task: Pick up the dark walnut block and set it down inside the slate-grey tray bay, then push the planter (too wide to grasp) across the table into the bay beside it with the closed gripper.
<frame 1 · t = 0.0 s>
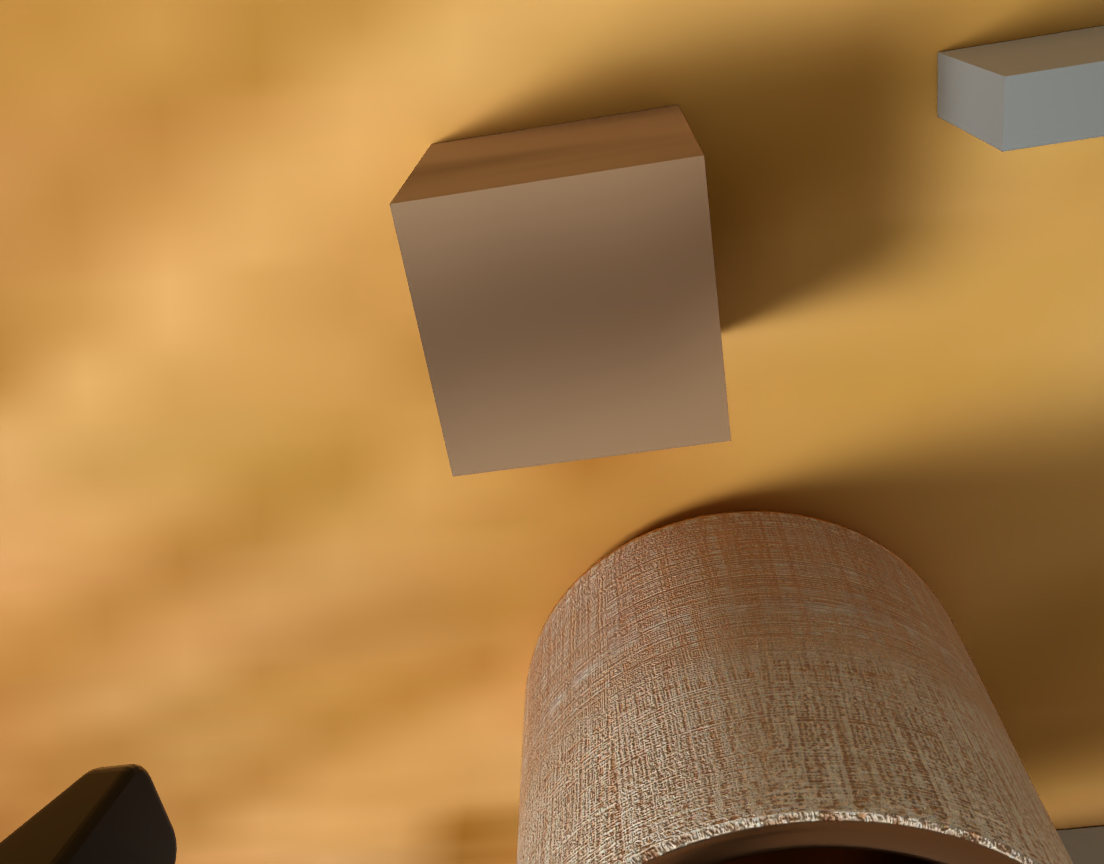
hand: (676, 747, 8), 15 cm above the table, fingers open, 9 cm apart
walnut block: (572, 244, 22), on the table
planter: (735, 672, 27), on the table
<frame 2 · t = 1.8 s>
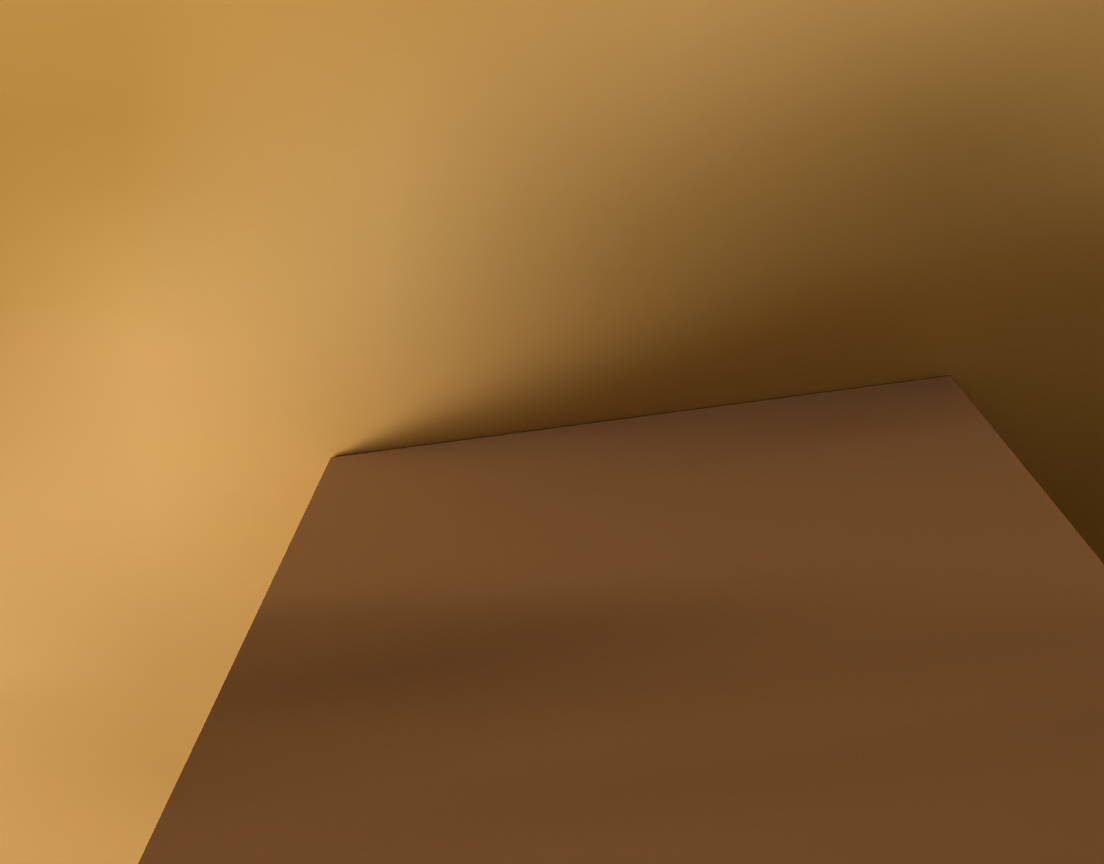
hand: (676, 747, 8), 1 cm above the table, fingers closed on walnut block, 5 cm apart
walnut block: (666, 663, 9), on the table, touching gripper
when the fingers open (2 cm above the table, at t = 5.5 s): walnut block drops 2 cm, on the table.
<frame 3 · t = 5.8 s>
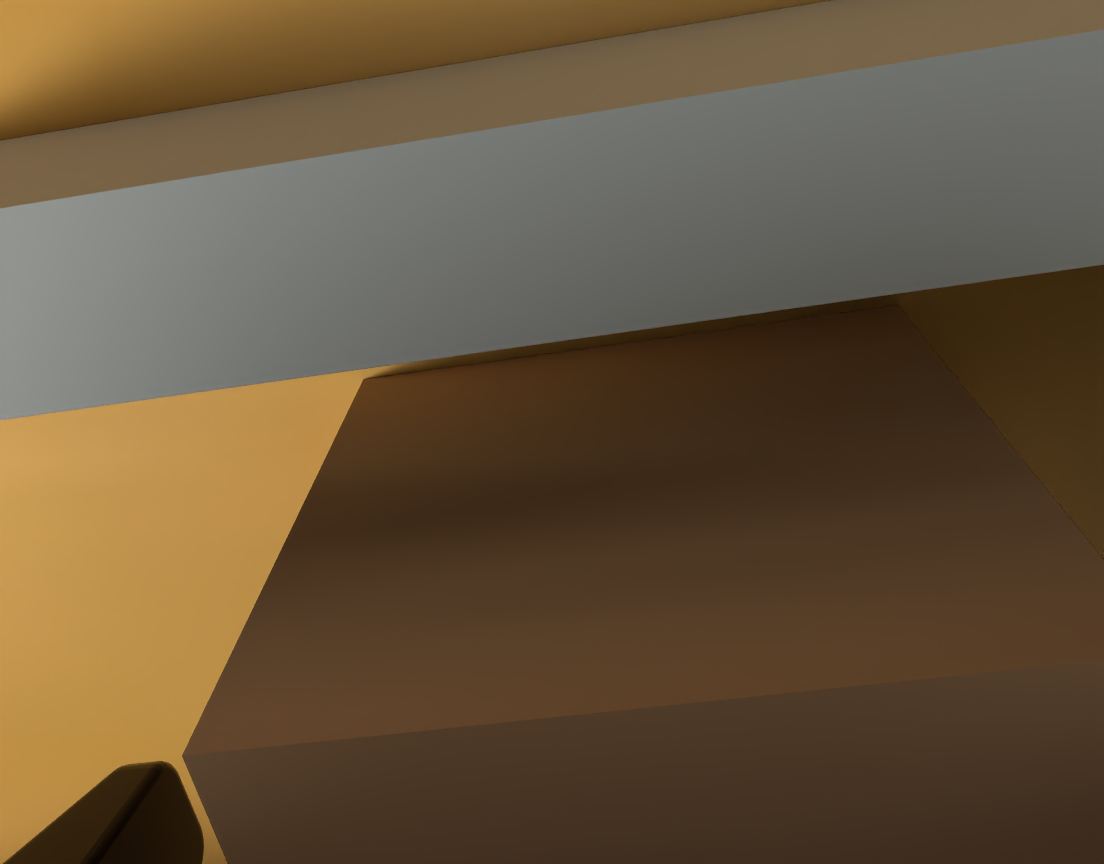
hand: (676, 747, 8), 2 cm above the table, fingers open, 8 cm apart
walnut block: (654, 561, 11), on the table
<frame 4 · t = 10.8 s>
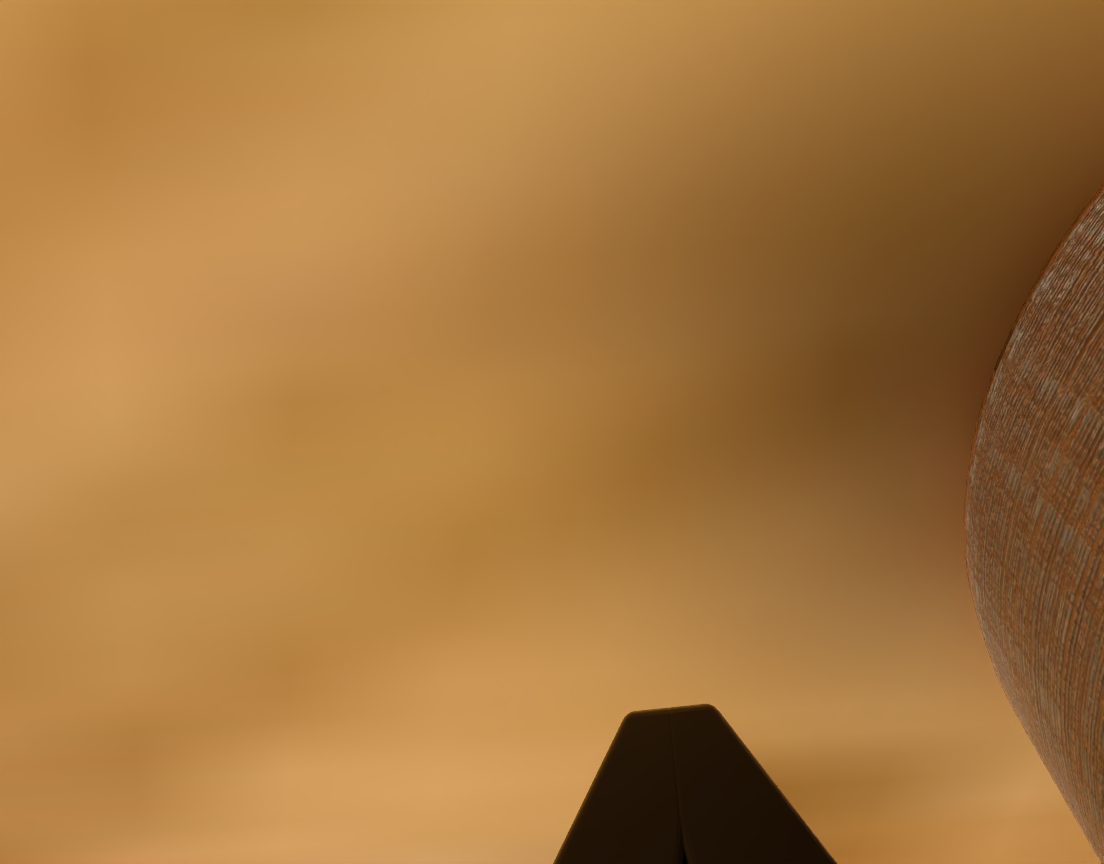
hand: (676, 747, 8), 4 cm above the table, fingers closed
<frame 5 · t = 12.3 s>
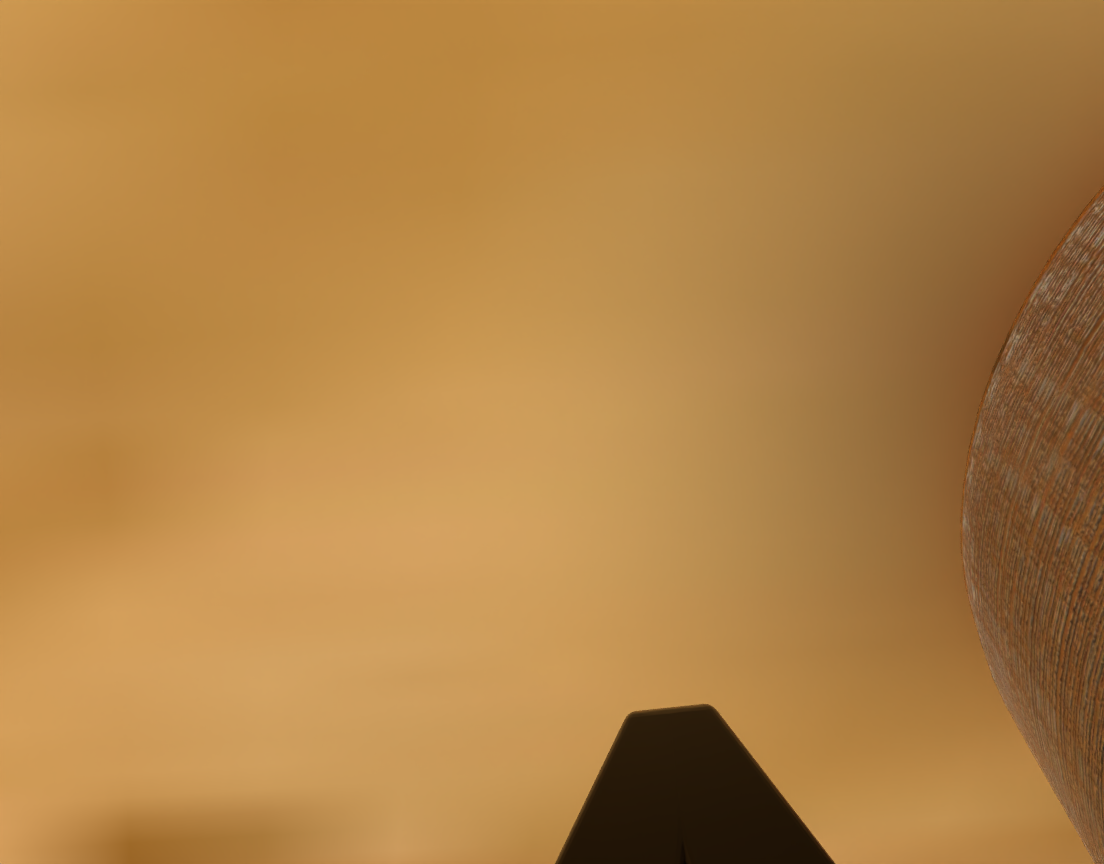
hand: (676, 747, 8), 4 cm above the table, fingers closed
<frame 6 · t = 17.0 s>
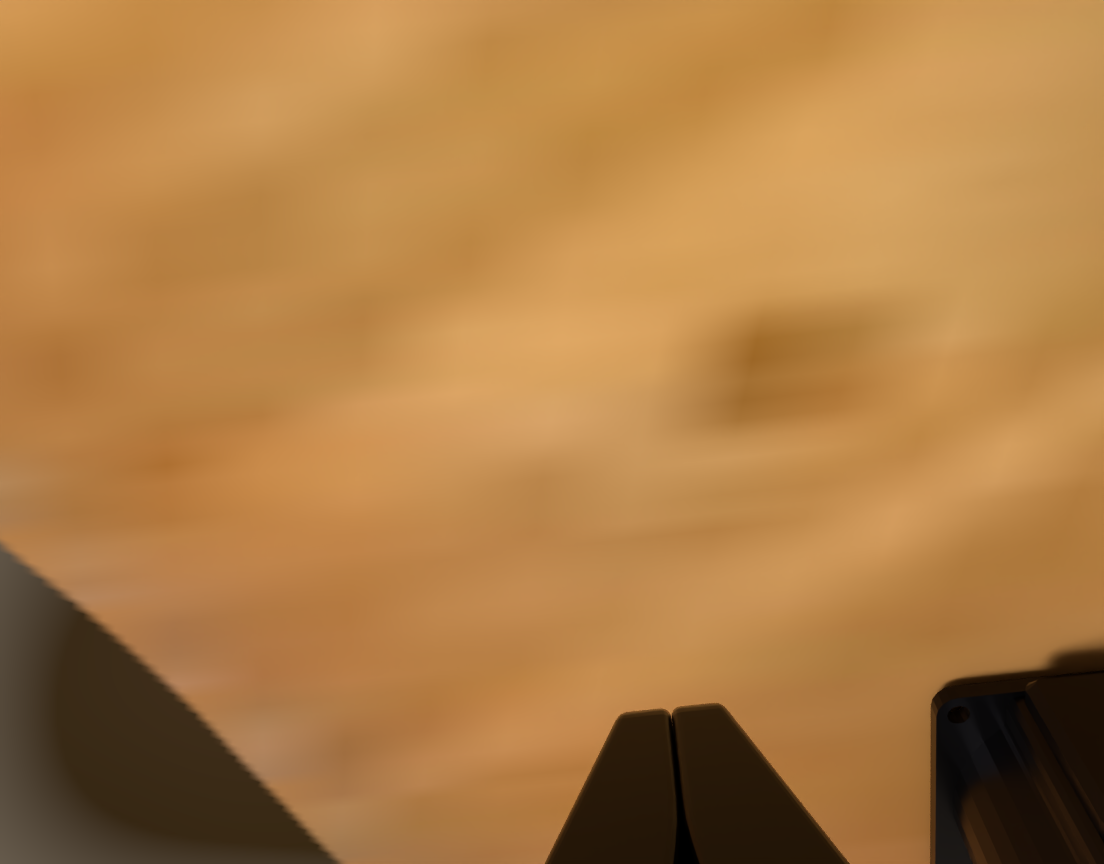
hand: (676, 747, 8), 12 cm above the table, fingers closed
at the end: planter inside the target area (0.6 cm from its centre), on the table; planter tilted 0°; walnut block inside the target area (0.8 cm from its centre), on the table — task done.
